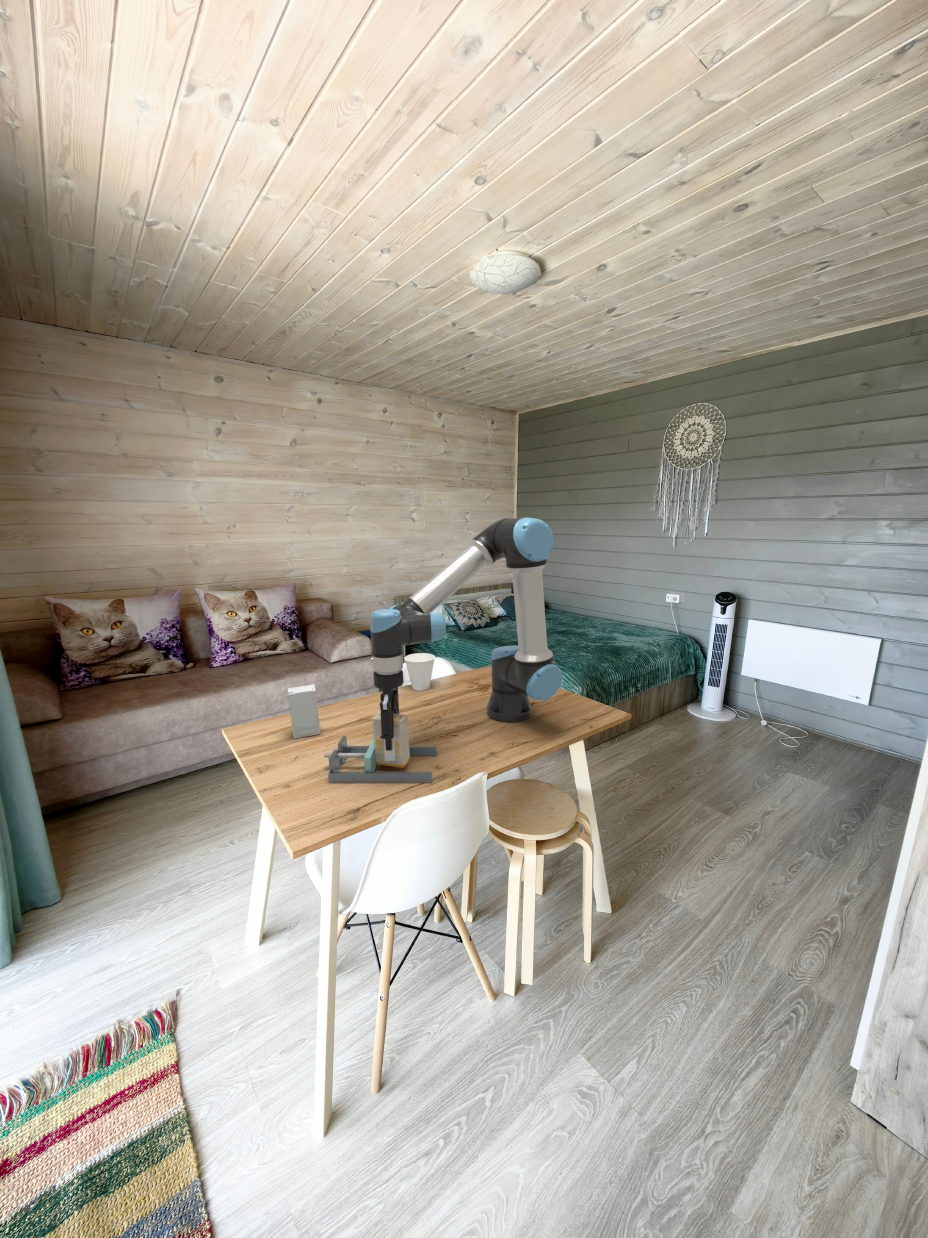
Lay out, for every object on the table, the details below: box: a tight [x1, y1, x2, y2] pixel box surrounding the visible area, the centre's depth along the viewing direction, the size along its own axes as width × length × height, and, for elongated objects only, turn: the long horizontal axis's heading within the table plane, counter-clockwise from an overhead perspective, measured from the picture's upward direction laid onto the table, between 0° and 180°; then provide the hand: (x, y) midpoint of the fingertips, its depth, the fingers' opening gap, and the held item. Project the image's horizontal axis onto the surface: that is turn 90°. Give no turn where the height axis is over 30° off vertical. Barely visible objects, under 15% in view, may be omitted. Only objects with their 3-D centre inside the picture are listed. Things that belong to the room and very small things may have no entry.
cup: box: [403, 652, 436, 692], centre depth 187 cm, size 12×12×12 cm
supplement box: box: [371, 711, 411, 769], centre depth 126 cm, size 8×5×13 cm, turn 72°
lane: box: [328, 735, 438, 784], centre depth 127 cm, size 26×15×6 cm, turn 88°
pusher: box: [323, 737, 378, 772], centre depth 127 cm, size 14×12×6 cm
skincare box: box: [287, 683, 321, 740], centre depth 147 cm, size 8×6×15 cm
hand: (392, 754), depth 127 cm, fingers closed on supplement box, 6 cm apart
